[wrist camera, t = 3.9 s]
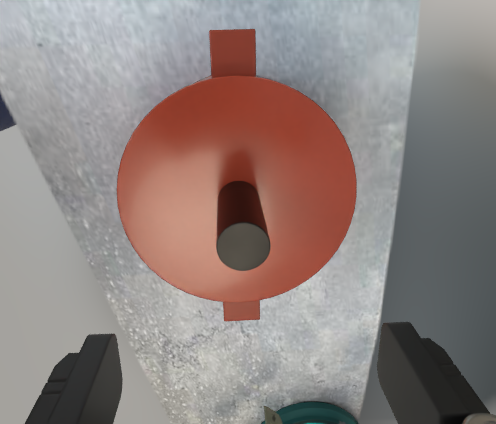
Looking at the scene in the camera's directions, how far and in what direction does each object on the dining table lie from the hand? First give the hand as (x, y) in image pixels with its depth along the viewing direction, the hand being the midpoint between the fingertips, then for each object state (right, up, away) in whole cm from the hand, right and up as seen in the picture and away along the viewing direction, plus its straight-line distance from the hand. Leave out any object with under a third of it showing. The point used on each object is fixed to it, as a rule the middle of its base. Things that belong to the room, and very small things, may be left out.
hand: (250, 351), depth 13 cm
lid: (-1, +5, +12) cm, 13 cm away
